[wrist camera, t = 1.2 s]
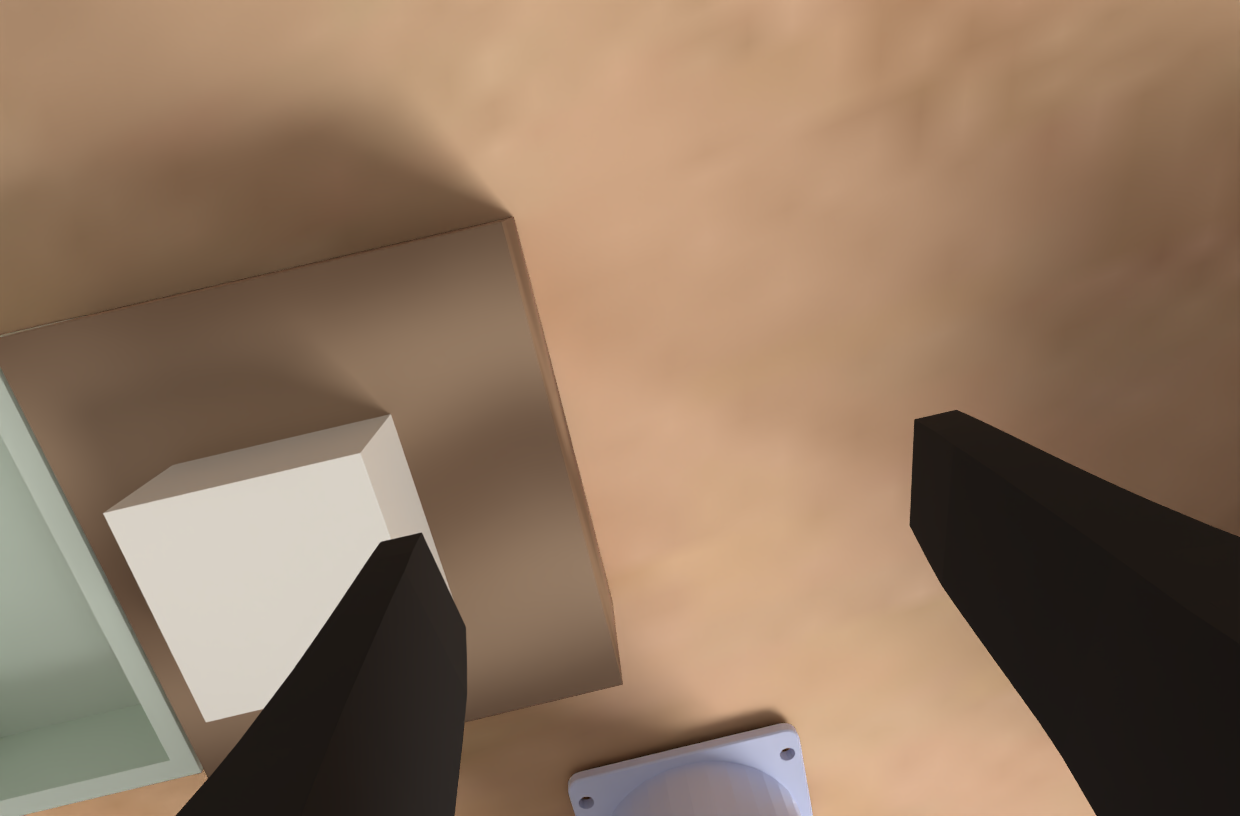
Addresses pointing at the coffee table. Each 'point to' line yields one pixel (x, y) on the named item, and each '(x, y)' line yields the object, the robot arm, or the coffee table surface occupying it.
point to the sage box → (68, 651)
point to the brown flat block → (342, 394)
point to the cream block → (263, 551)
